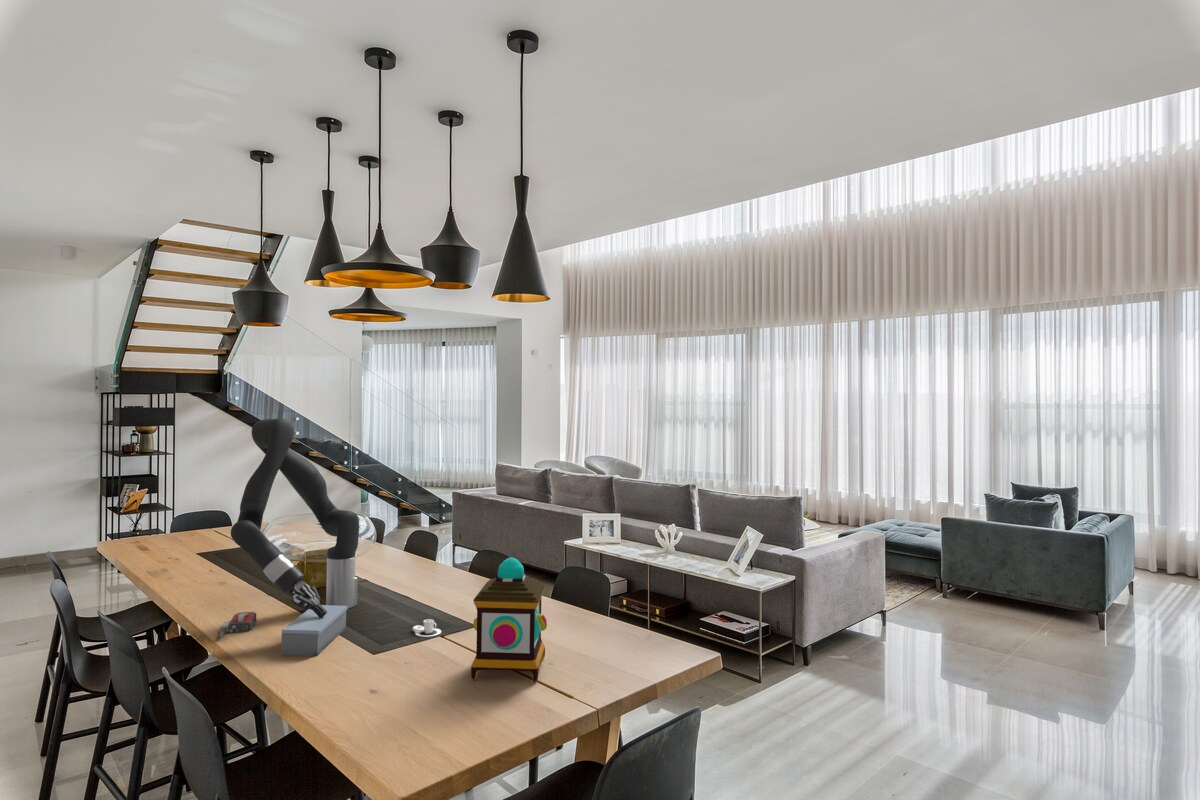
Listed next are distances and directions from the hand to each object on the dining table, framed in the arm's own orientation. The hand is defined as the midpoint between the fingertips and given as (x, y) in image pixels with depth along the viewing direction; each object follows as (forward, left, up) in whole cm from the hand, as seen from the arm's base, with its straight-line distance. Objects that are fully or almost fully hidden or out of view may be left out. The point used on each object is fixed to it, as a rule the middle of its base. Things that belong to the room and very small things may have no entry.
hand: (324, 615), depth 207 cm
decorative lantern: (-20, +57, -8) cm, 61 cm away
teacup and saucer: (-27, +14, -8) cm, 32 cm away
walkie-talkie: (+12, -30, -8) cm, 33 cm away
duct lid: (+1, -2, -2) cm, 3 cm away
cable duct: (+2, -2, -8) cm, 8 cm away
